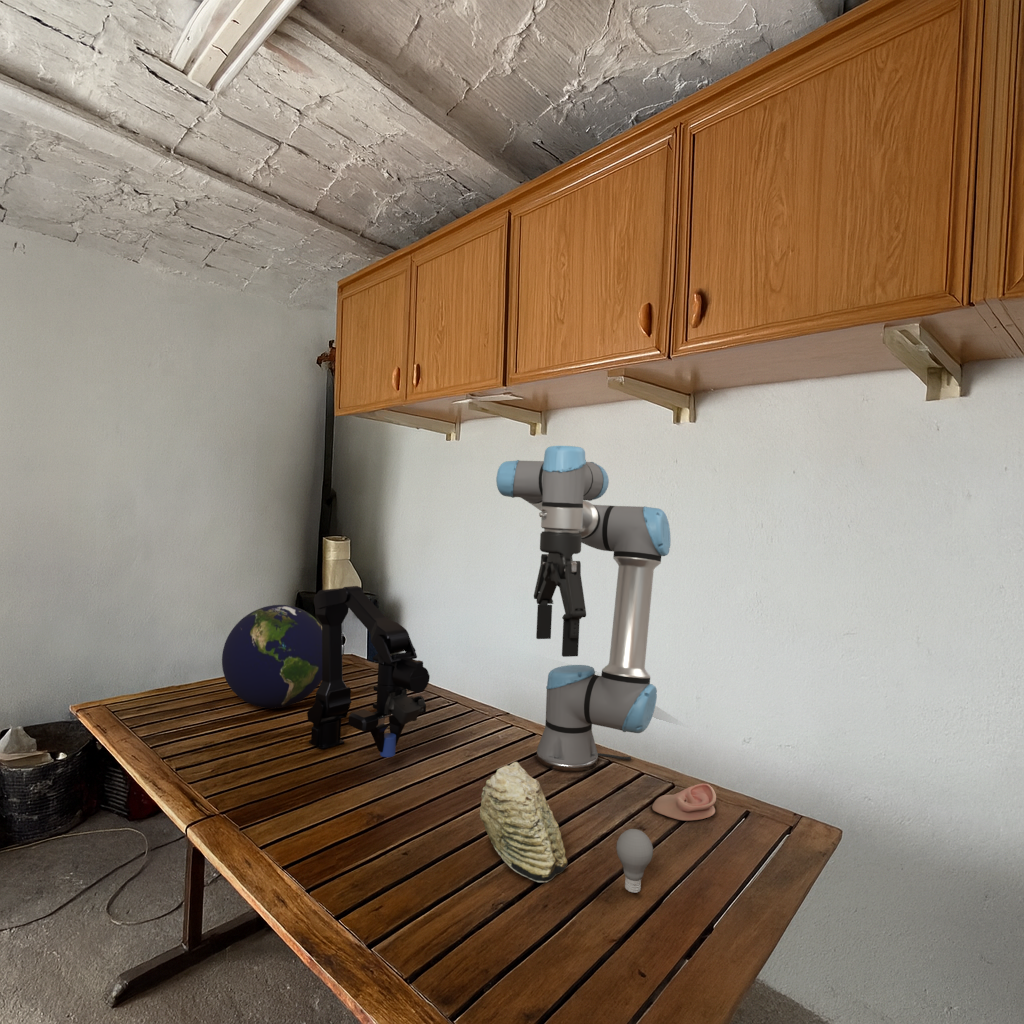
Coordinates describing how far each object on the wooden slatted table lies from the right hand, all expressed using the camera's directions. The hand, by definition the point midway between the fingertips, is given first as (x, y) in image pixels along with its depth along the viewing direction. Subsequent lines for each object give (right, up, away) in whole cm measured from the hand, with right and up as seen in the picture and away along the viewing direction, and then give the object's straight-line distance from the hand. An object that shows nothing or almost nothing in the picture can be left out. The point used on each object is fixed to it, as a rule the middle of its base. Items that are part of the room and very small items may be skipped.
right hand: (555, 647), depth 116 cm
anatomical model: (+29, -39, +19) cm, 52 cm away
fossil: (-7, -38, -1) cm, 38 cm away
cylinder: (-37, -31, +31) cm, 57 cm away
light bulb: (+12, -39, -10) cm, 42 cm away
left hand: (-37, -30, +31) cm, 57 cm away
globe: (-78, -33, +72) cm, 112 cm away
